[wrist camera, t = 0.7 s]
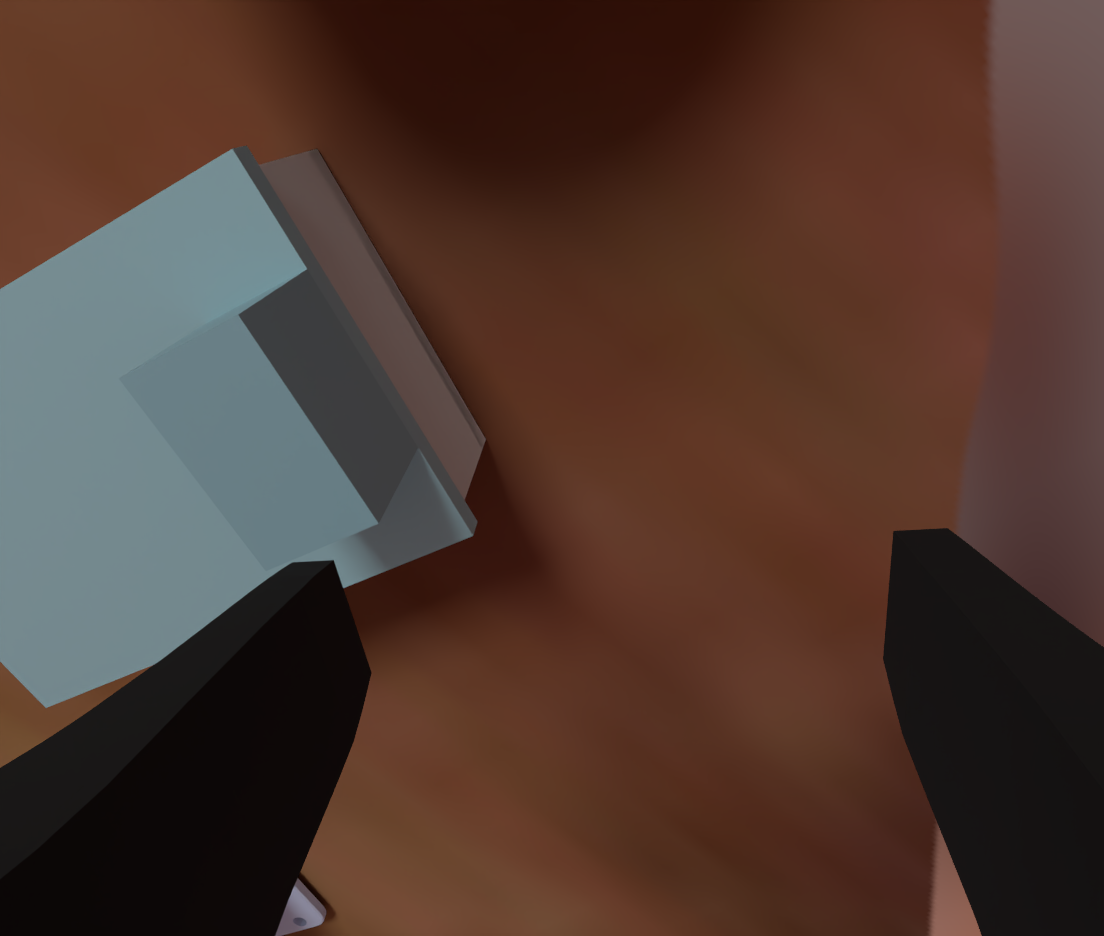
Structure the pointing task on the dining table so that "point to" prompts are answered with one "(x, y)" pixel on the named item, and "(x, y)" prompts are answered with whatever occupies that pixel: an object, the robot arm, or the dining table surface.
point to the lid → (191, 434)
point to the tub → (378, 309)
